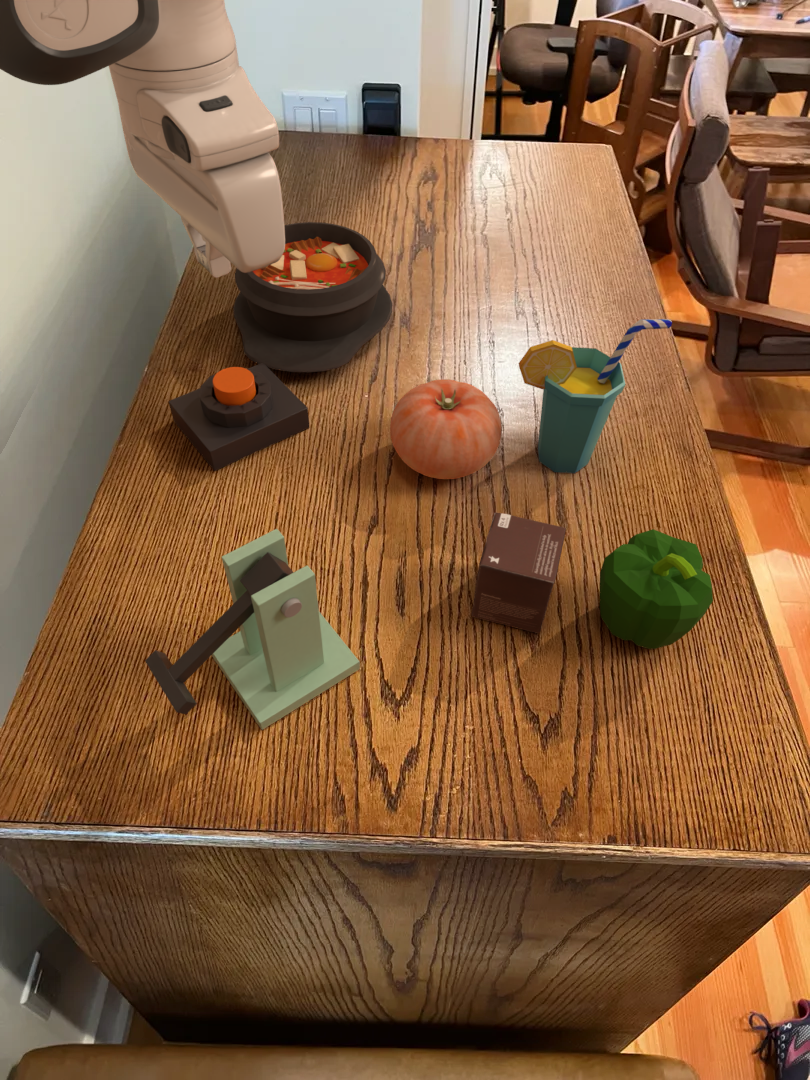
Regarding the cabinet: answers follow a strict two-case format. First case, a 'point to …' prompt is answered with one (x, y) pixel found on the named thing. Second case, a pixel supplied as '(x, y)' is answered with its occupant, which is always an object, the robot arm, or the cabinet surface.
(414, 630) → the cabinet surface
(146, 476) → the cabinet surface
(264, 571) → the lever
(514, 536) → the box
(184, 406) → the button housing
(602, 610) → the bell pepper
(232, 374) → the button
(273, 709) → the lever stand
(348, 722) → the cabinet surface
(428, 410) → the tomato
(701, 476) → the cabinet surface
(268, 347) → the casserole
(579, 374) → the cup
